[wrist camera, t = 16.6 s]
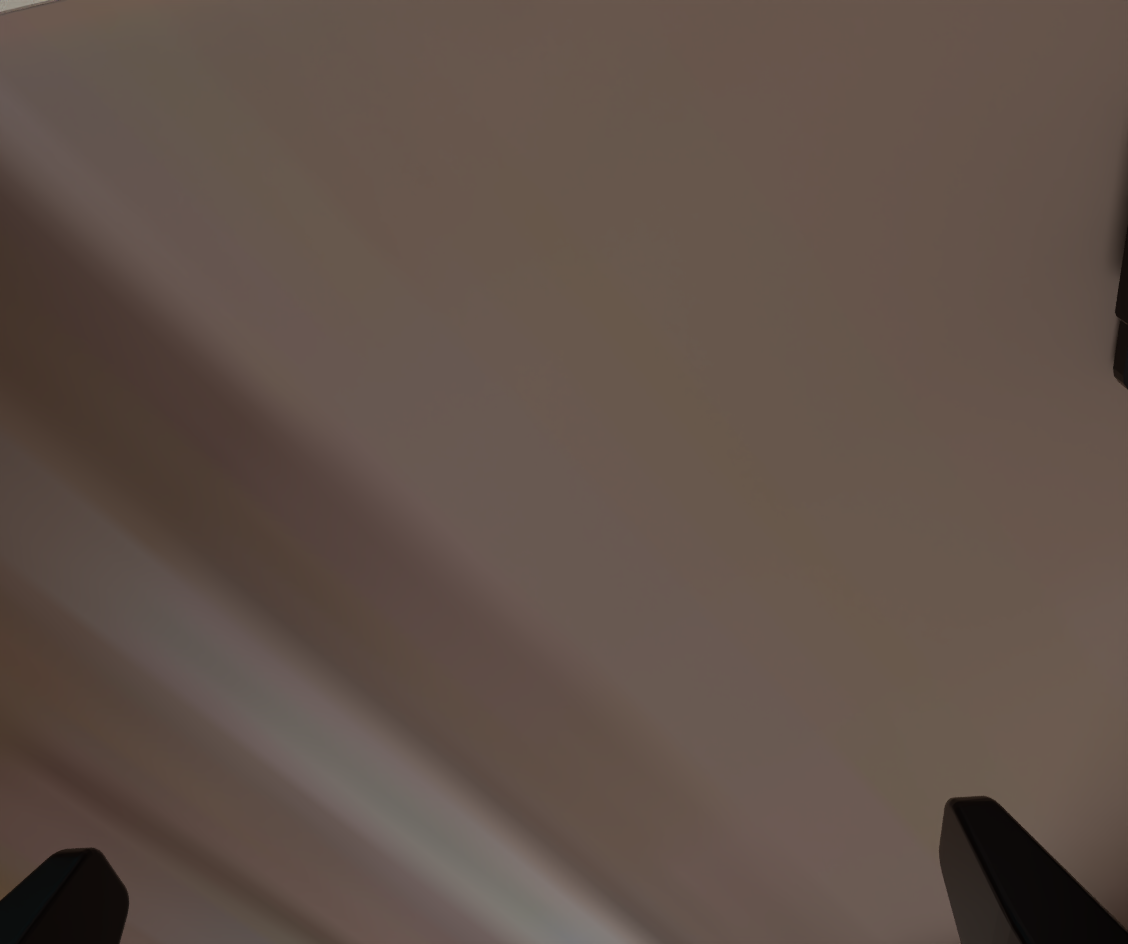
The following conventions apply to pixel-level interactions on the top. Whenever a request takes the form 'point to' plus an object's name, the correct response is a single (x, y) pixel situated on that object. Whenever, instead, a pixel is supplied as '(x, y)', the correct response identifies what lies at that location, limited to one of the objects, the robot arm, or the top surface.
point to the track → (20, 4)
